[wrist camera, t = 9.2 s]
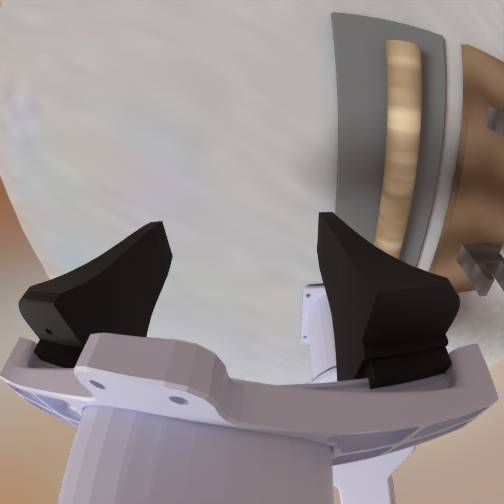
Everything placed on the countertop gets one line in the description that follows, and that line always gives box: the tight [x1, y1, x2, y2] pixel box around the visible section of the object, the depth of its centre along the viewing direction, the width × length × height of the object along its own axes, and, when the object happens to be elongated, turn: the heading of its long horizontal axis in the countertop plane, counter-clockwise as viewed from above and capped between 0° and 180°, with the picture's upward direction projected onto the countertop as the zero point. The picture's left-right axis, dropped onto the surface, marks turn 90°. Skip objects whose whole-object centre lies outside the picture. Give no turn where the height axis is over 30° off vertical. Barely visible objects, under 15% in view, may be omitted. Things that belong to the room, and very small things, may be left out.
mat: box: [331, 12, 445, 267], centre depth 19 cm, size 26×9×1 cm, turn 5°
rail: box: [374, 40, 422, 259], centre depth 18 cm, size 22×2×2 cm, turn 5°
